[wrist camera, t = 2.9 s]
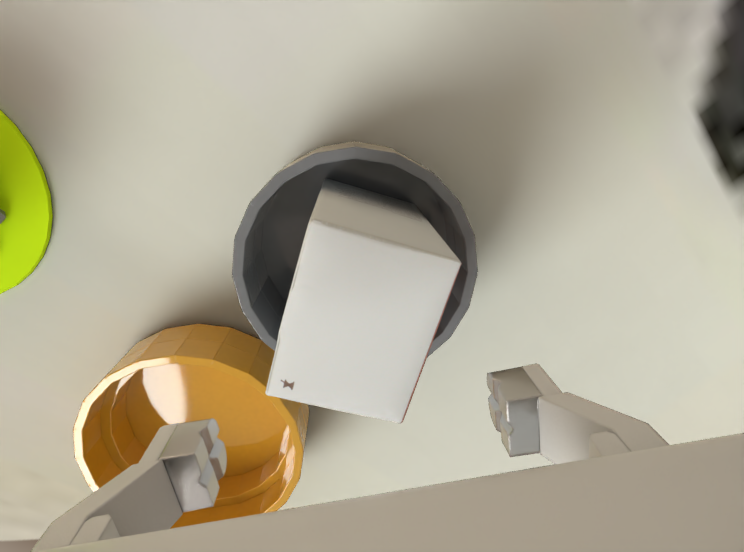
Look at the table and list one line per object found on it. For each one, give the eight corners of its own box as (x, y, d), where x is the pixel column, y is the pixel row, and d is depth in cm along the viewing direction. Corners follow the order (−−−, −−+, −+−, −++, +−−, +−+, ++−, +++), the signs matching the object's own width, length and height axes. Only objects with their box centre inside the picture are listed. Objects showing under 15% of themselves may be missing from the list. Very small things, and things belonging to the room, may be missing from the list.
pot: (443, 126, 28) (466, 128, 23) (462, 318, 33) (485, 360, 27) (231, 160, 29) (202, 171, 23) (279, 348, 33) (264, 395, 27)
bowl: (286, 306, 32) (274, 338, 27) (325, 469, 37) (321, 520, 32) (82, 339, 32) (36, 377, 27) (148, 497, 37) (119, 552, 32)
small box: (382, 310, 32) (402, 429, 20) (295, 288, 31) (259, 398, 19) (418, 202, 30) (466, 261, 17) (324, 174, 29) (305, 216, 17)
